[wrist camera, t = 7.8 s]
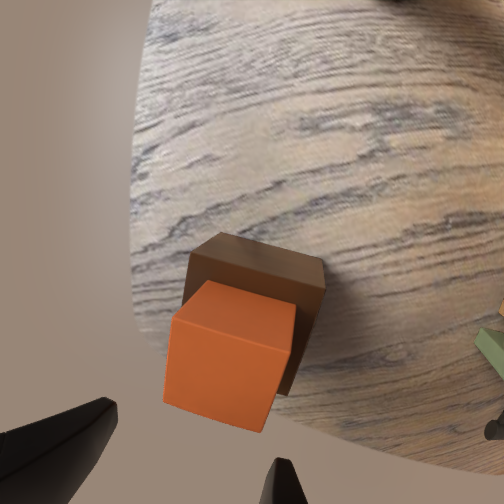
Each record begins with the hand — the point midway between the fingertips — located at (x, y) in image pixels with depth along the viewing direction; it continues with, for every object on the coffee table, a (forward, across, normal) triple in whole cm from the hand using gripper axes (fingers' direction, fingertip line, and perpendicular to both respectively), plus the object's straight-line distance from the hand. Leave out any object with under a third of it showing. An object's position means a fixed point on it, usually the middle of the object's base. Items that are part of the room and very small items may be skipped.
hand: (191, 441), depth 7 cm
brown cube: (+12, 0, 0) cm, 12 cm away
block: (+7, 0, 0) cm, 7 cm away
